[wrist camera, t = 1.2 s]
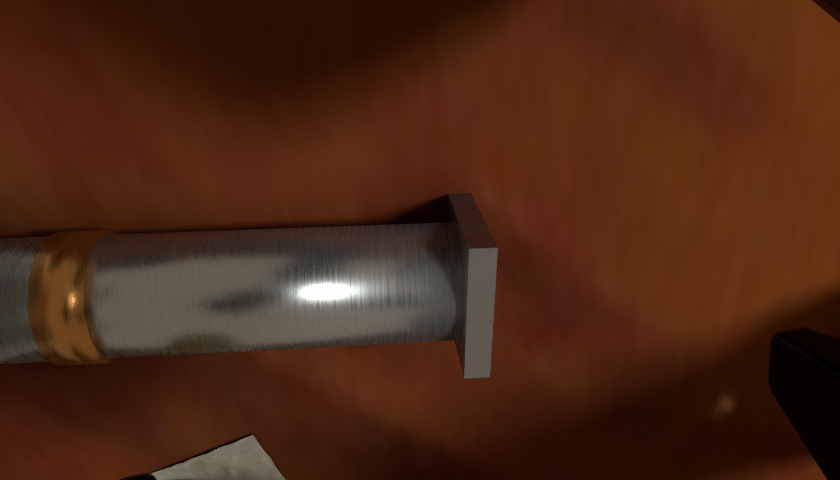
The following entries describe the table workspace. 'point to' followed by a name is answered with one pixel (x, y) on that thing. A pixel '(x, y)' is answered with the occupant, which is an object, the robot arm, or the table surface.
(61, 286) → the air tube
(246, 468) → the condiment
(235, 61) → the table surface
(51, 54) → the table surface
